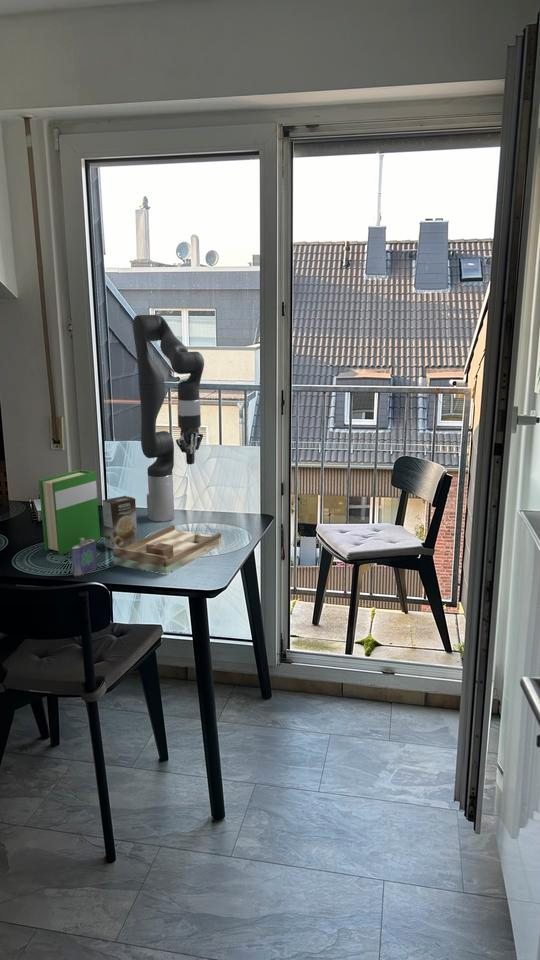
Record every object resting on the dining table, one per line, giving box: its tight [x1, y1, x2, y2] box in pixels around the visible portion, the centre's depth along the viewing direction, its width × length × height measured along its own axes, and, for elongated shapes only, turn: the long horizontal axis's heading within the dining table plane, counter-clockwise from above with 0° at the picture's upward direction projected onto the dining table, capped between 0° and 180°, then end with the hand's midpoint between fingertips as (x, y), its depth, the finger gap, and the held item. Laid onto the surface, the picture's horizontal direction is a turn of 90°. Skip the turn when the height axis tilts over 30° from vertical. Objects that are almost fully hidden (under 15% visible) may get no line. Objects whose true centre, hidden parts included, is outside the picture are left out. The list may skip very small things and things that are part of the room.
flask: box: [71, 538, 98, 577], centre depth 208 cm, size 9×3×11 cm, turn 151°
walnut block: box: [149, 543, 174, 559], centre depth 211 cm, size 5×5×4 cm
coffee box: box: [102, 495, 138, 550], centre depth 230 cm, size 9×6×16 cm
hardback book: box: [38, 469, 101, 555], centre depth 230 cm, size 18×7×24 cm, turn 147°
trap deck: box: [112, 524, 222, 574], centre depth 222 cm, size 20×31×6 cm, turn 152°
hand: (190, 463), depth 232 cm, fingers closed
